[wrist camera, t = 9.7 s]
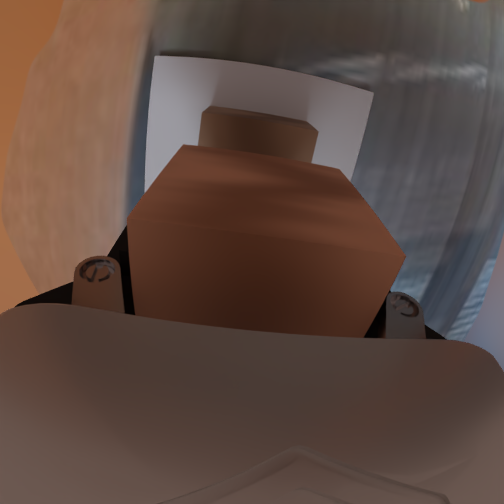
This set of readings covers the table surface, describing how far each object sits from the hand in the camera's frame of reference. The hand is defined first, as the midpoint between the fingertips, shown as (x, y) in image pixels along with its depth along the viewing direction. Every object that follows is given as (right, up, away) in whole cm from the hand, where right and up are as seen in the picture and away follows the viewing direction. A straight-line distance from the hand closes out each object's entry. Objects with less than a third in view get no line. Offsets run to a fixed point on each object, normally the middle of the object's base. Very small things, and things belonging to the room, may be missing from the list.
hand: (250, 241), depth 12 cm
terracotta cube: (0, +1, +1) cm, 1 cm away
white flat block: (0, +7, +11) cm, 13 cm away
